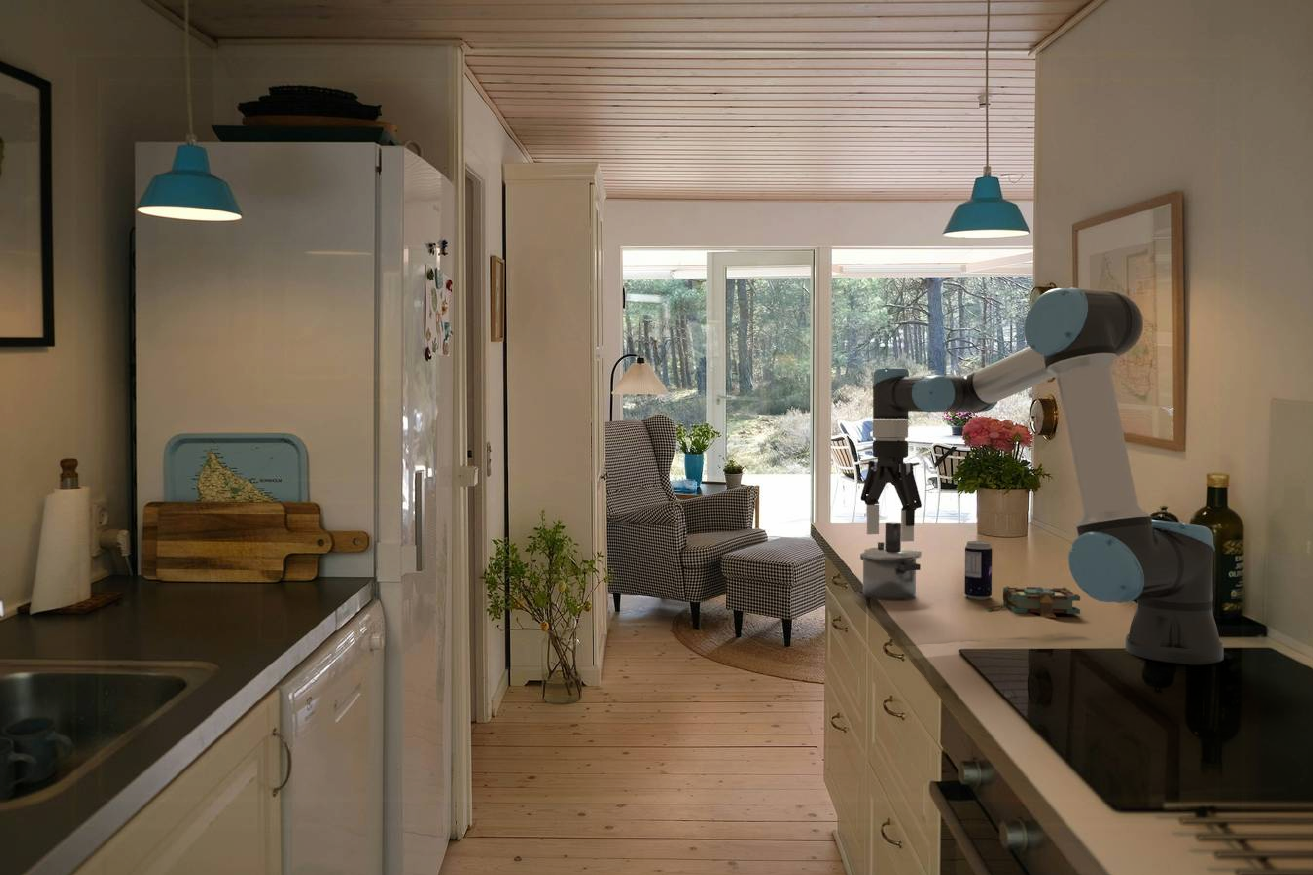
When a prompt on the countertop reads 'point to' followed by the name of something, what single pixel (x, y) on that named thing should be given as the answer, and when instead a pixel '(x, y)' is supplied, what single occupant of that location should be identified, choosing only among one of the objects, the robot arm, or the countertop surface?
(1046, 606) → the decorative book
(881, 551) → the lid
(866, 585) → the pot
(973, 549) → the beverage can
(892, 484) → the robot arm
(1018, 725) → the countertop surface
